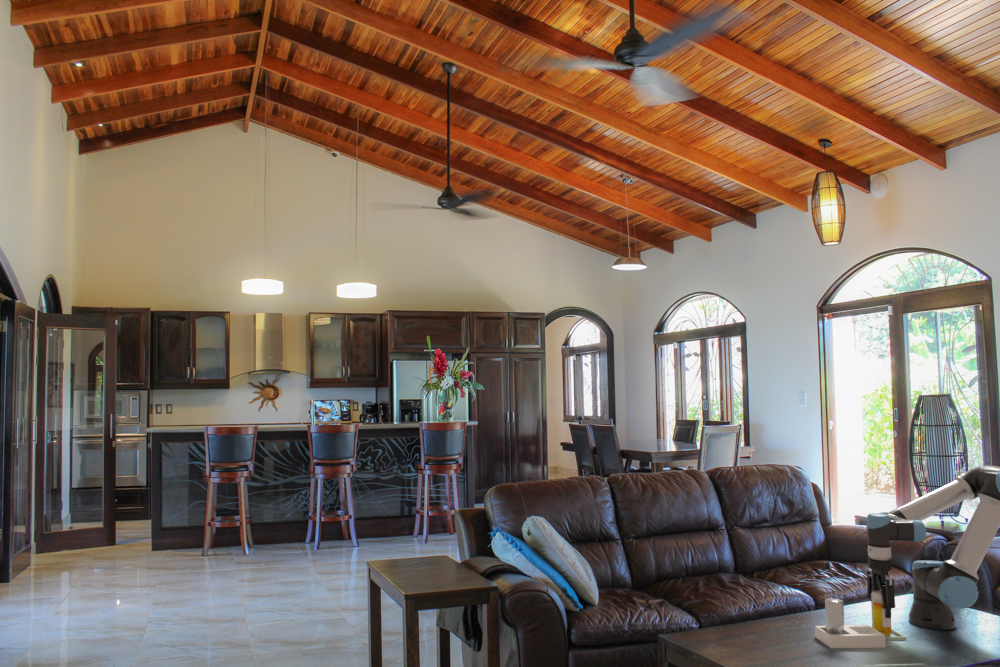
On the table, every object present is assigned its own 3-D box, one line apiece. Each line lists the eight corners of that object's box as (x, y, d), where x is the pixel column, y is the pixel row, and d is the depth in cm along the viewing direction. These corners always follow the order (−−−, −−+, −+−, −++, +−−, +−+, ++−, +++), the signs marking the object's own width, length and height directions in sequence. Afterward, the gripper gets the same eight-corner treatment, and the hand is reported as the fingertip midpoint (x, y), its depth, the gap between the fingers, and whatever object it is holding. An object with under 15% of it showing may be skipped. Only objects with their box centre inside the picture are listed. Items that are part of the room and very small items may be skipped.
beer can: (893, 638, 264) (892, 594, 265) (875, 637, 266) (873, 593, 267) (888, 632, 270) (887, 590, 271) (870, 631, 272) (869, 589, 273)
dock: (867, 638, 265) (867, 624, 265) (885, 648, 254) (885, 635, 254) (815, 639, 263) (815, 625, 264) (831, 650, 252) (831, 636, 253)
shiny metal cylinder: (839, 639, 261) (838, 598, 262) (847, 645, 255) (846, 603, 256) (822, 639, 261) (821, 598, 262) (831, 645, 255) (830, 603, 256)
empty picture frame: (887, 629, 274) (887, 626, 274) (906, 639, 263) (906, 636, 263) (858, 630, 273) (858, 627, 273) (875, 640, 262) (875, 637, 262)
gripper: (855, 552, 279) (856, 615, 277) (884, 564, 260) (886, 632, 259) (874, 551, 280) (876, 615, 278) (905, 563, 261) (907, 632, 259)
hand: (881, 623), depth 268 cm, fingers closed on beer can, 6 cm apart
